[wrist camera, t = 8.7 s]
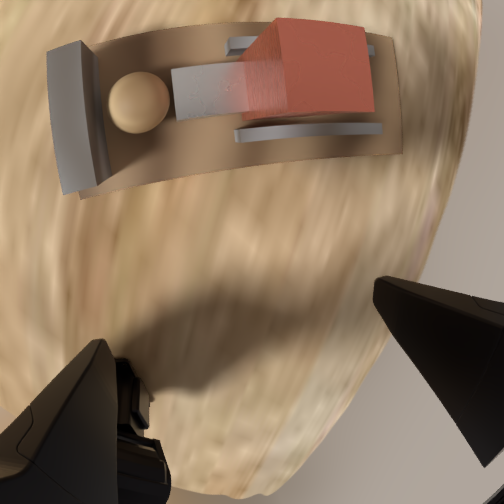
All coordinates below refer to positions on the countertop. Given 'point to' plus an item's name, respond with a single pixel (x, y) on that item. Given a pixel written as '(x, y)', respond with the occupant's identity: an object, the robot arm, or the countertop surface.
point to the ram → (282, 75)
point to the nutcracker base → (198, 130)
